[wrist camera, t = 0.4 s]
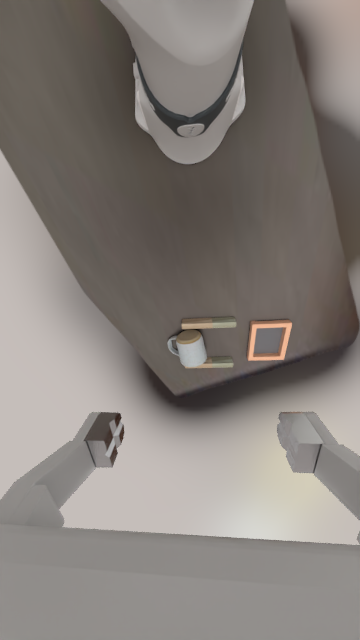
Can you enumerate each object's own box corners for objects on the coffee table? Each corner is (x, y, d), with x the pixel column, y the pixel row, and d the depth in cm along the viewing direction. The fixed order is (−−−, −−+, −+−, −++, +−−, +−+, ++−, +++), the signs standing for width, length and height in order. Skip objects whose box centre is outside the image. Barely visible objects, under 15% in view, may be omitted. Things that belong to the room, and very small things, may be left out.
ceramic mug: (200, 325, 52) (201, 340, 45) (206, 348, 56) (208, 366, 49) (164, 332, 54) (160, 348, 47) (172, 354, 58) (169, 372, 51)
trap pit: (250, 321, 51) (252, 324, 49) (288, 319, 50) (292, 323, 48) (246, 356, 56) (248, 360, 55) (280, 355, 56) (283, 359, 54)
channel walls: (182, 319, 52) (181, 324, 49) (233, 316, 50) (236, 322, 48) (185, 361, 58) (185, 368, 56) (230, 360, 57) (232, 367, 55)
